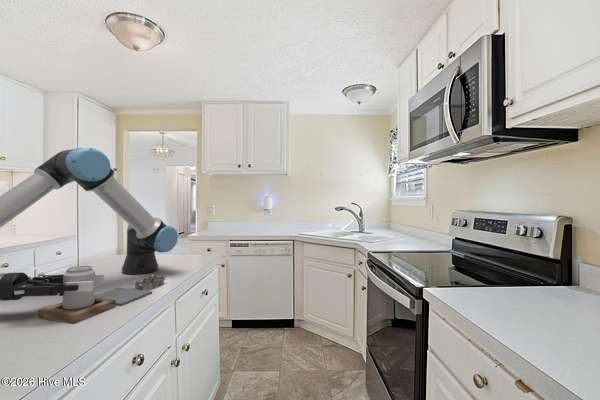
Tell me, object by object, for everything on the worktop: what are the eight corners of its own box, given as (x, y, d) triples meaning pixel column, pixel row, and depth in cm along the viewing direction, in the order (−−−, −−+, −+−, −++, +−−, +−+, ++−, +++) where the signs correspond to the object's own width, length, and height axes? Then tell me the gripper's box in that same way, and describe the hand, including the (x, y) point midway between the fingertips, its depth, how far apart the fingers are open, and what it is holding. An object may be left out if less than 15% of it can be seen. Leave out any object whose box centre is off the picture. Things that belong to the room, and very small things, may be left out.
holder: (83, 302, 93) (83, 295, 93) (115, 306, 89) (115, 299, 89) (37, 317, 80) (38, 310, 80) (73, 323, 77) (73, 315, 77)
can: (77, 313, 80) (77, 270, 80) (55, 310, 82) (56, 269, 82) (100, 304, 88) (101, 265, 88) (80, 301, 89) (81, 263, 89)
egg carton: (146, 292, 105) (146, 281, 105) (130, 289, 107) (130, 279, 107) (167, 284, 115) (167, 274, 115) (152, 282, 118) (152, 272, 118)
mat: (118, 289, 106) (118, 287, 106) (151, 293, 103) (151, 291, 103) (84, 301, 94) (84, 298, 94) (120, 306, 90) (120, 303, 90)
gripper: (27, 289, 90) (110, 284, 96) (-27, 314, 70) (82, 306, 76) (28, 265, 90) (111, 262, 96) (-26, 283, 70) (82, 278, 76)
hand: (98, 282), depth 86 cm, fingers closed on can, 7 cm apart
